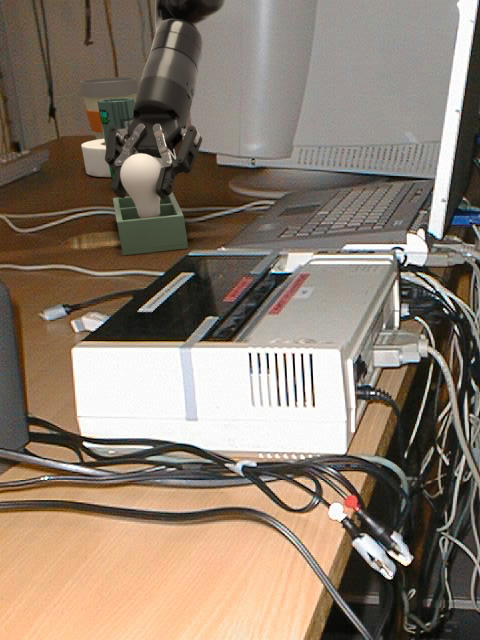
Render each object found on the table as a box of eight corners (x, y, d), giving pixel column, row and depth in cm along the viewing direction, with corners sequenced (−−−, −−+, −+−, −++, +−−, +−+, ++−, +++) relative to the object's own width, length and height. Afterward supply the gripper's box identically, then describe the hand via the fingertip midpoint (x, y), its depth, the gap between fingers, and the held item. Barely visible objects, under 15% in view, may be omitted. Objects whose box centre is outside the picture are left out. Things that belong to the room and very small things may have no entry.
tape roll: (162, 161, 193) (158, 133, 191) (167, 173, 180) (163, 143, 177) (86, 167, 190) (81, 139, 187) (86, 180, 177) (80, 150, 174)
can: (126, 183, 173) (111, 98, 165) (153, 184, 171) (139, 98, 163) (107, 190, 168) (91, 102, 160) (135, 191, 166) (120, 102, 158)
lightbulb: (139, 242, 127) (124, 159, 121) (125, 233, 132) (110, 153, 126) (180, 234, 130) (167, 153, 124) (165, 227, 134) (152, 148, 129)
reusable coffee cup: (160, 150, 206) (149, 77, 199) (114, 159, 198) (100, 83, 191) (127, 146, 213) (115, 76, 206) (81, 154, 205) (67, 81, 198)
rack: (188, 248, 128) (183, 215, 126) (123, 255, 126) (116, 222, 124) (177, 222, 143) (172, 192, 141) (118, 228, 141) (112, 197, 139)
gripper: (109, 74, 128) (80, 178, 125) (200, 73, 124) (173, 180, 121) (134, 109, 135) (108, 209, 132) (222, 109, 131) (197, 212, 128)
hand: (139, 195), depth 126 cm, fingers closed on lightbulb, 6 cm apart
